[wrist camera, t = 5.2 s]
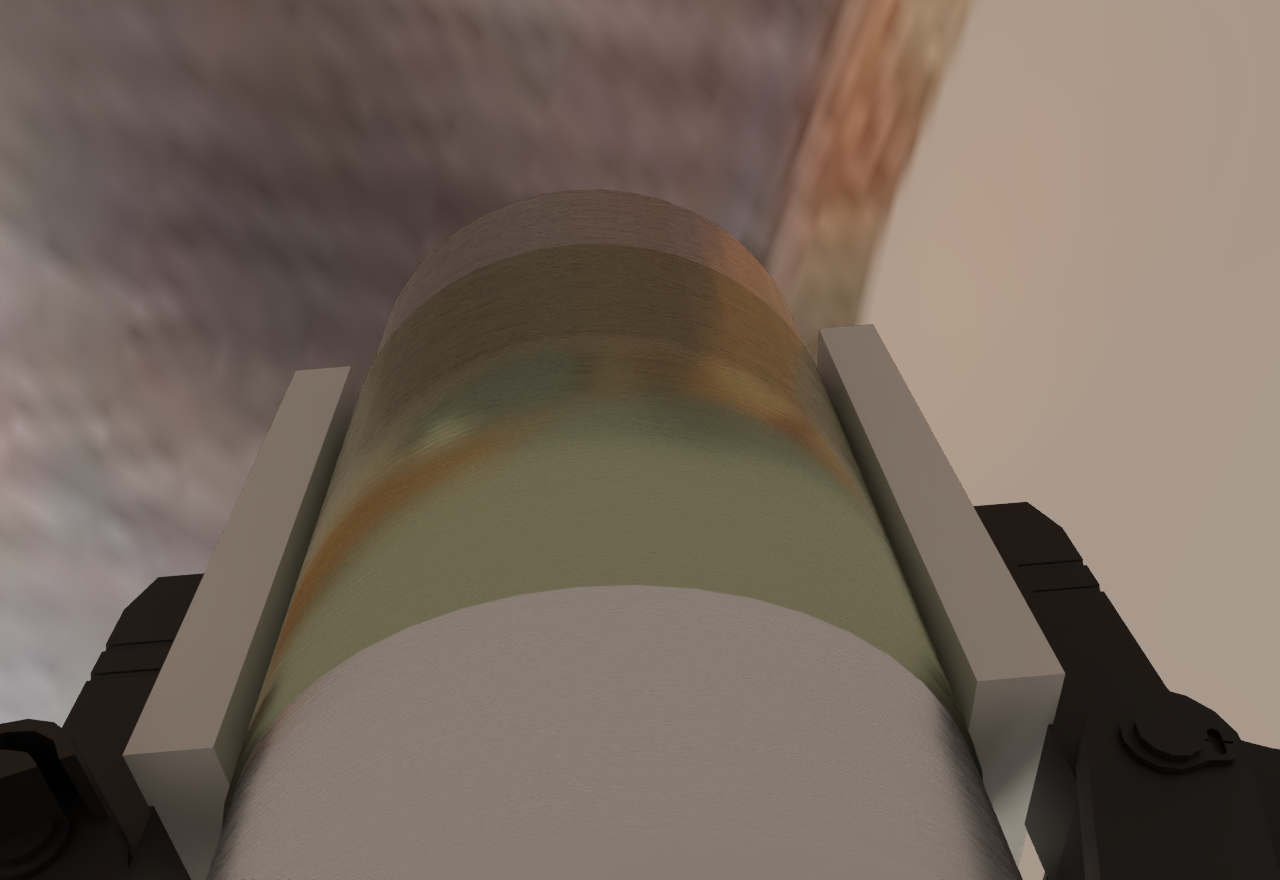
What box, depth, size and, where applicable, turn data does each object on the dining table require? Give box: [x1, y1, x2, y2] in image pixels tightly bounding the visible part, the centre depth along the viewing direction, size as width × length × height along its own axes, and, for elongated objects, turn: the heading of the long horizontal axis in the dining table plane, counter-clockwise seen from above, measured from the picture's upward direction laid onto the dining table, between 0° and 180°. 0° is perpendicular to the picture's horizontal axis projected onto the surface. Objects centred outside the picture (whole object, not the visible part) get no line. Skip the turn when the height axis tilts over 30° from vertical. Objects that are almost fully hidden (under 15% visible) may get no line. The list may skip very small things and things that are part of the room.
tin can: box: [206, 190, 1023, 880], centre depth 11 cm, size 6×6×10 cm
